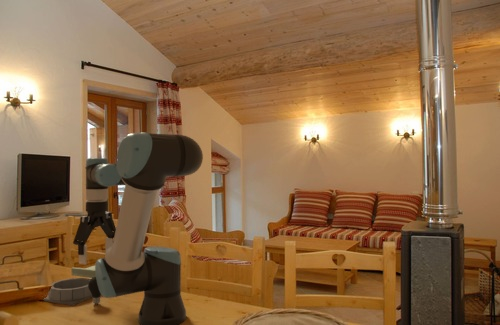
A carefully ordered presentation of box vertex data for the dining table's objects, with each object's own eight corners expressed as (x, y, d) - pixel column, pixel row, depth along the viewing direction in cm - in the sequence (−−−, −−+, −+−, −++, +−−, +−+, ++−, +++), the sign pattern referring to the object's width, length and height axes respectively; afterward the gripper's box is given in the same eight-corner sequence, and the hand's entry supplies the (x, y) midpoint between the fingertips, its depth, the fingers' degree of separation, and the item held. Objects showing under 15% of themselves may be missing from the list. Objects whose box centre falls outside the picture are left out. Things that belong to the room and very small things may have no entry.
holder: (103, 292, 162) (103, 280, 162) (72, 305, 147) (72, 292, 147) (71, 288, 168) (71, 276, 168) (38, 300, 153) (38, 287, 153)
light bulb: (99, 307, 145) (99, 279, 145) (84, 306, 146) (84, 278, 146) (107, 302, 151) (107, 274, 151) (93, 301, 152) (93, 274, 152)
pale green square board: (128, 269, 177) (128, 262, 177) (103, 279, 162) (103, 271, 162) (98, 266, 183) (98, 259, 183) (71, 275, 168) (71, 268, 168)
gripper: (111, 197, 162) (110, 251, 162) (62, 203, 138) (61, 266, 138) (127, 198, 159) (126, 253, 159) (79, 204, 136) (79, 268, 136)
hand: (96, 259), depth 149 cm, fingers open, 13 cm apart
